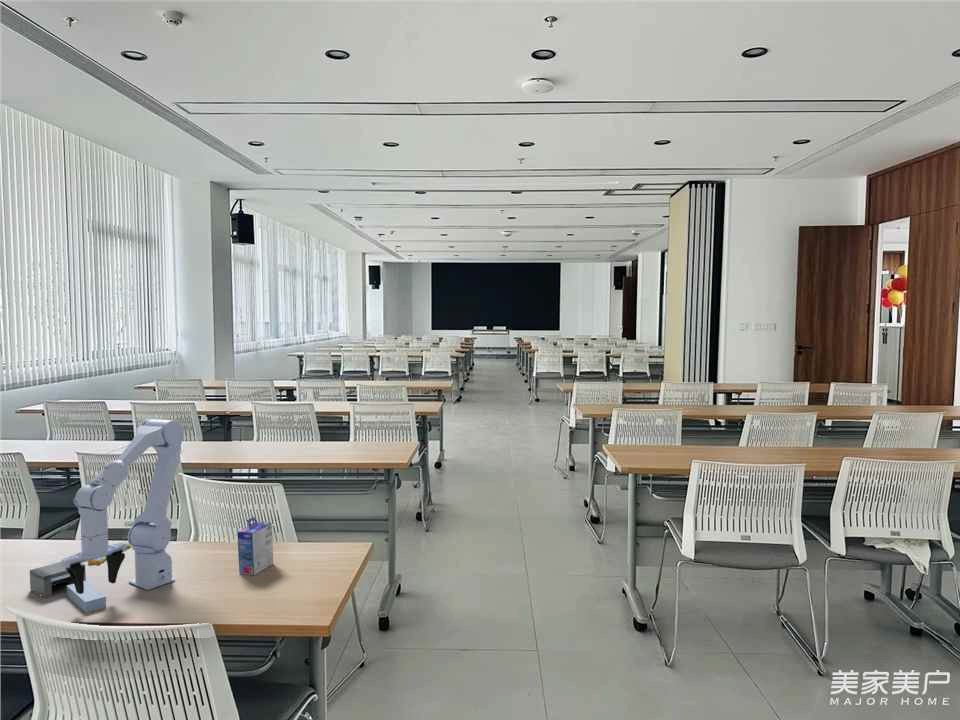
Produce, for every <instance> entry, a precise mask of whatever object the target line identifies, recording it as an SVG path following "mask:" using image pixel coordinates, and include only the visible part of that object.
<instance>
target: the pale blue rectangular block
mask: <svg viewBox="0 0 960 720" xmlns="http://www.w3.org/2000/svg"><path fill="white" fill-rule="evenodd" d="M83 582H84V593H83V594H79V593H77V592H76V588H75V585H74V584H71V583H70V584H68V585H66V596H67V597H68V598H69V597H70V598H69V599H70V600H71V599H72V600H71V601H72V602H73V603H74V604H76V605H77V606H78V607H79V608H80V609H81V610H82V611H83V612H84V613H86V612H87V613H90V612H93V610H94V611H96V610H100V608H101V609H104V608H106V607H107V596H106V594H104V593H102V592H101V591H100V590H99V589H97V588H96V587H95V586H94V585H93V584H91V583H90V582H89V581H87V580H86V581H83ZM103 607H104V608H103ZM87 613H86V614H87Z"/></svg>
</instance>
